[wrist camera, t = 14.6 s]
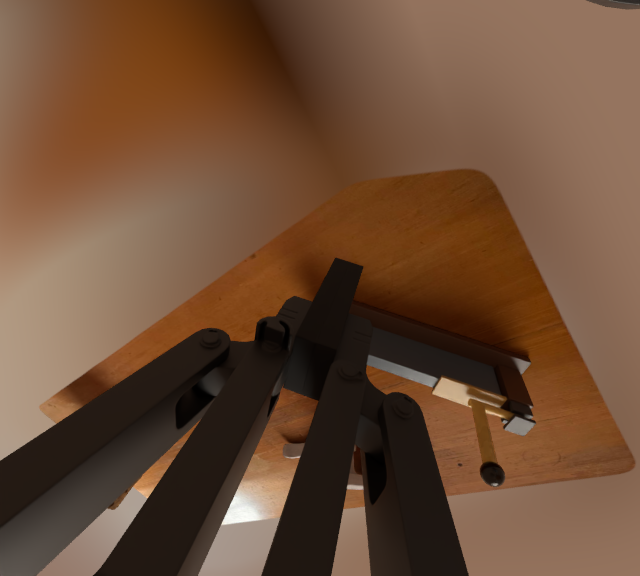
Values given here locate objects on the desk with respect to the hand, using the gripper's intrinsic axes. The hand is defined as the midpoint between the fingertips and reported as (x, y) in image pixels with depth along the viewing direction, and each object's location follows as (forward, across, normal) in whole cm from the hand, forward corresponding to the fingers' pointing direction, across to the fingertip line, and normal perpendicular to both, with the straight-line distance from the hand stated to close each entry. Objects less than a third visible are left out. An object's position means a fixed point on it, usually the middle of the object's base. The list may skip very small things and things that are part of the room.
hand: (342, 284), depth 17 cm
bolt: (+17, +22, -20) cm, 34 cm away
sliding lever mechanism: (+24, +11, -20) cm, 33 cm away
